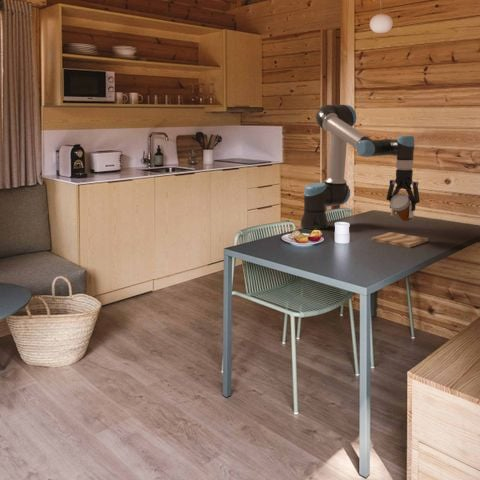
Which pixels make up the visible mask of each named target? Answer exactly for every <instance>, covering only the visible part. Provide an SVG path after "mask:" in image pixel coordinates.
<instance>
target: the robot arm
mask: <svg viewBox="0 0 480 480" xmlns="http://www.w3.org/2000/svg"><path fill="white" fill-rule="evenodd" d="M315 121H316V123H317V125H318V126H319V128H321V129H322V130H324V131H326V132H330V146H329V147H330V148H329V162H328V174H327V176H328V177H327V178H326V179H325V180H324V182H313V183H308V184H306V185H305V187H304V192H303V200H304V201H303V206H304V207H303V214H302V218H301V221H300V227H301V228H303V229H307V230H315V229H314V228H317V229H316V230H325V229H328V228H329V219H328V216H327V213H326V211H327V210H326V209H327V207H334V206H342V205H345V204H346V203H347V202H348V201H349V199H350V196H351V189H350V186H349V185H348V184H347V181H346V179H345V171H346V170H345V169H346V159H347V157H346V156H347V145H348V144H349V145H350V146H351V147H353V148H355V150H356V152H357V154H358V155H359V156H360V157H365V158H366V157H367V158H368V157H369V158H370V157H379V156H380V157H382V156H383V157H385V156H396V167H395V168H396V170H395V179H390V180H389V185H388V186H389V187H388V192H387V194H386V201H388V202H390V201H391V199H392V198H393V197H394V196H395V195H397V194H400V193H399V192H400V191H401V190H402V189H403V190H405V191H406V193H407V196H409V198H410V203H411V204H410V207H409V218H412V217H413V218H414V215H413V214H414V212H415V211H416V205H417V204H419V203H420V202H421V200H420V194H419V192H420V191H419V181H415V180H414V181H413V176H414V174H413V172H414V170H413V168H414V152H415V137H414V136H413V135H398V137H397V139H391V138H382V139H373V138H370V137H369V136H367V135H365V134H364V133H362V132H360V131H359V130H358V129H356V128H355V127H353V126H355V124H356V122H357V113H356V110H355V109H354V107H352V106H351V105H349V104H324V105H323V106H321V107H320V108H319V109H318V110H317V112H316V115H315ZM395 184H396V186H395ZM389 209H390V217H391V216H395V215H396V212H395V211H394V210H393V209H392V208H391V206H390V205H389ZM413 218H412V219H413Z"/></svg>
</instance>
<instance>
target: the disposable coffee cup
mask: <svg viewBox="0 0 480 480" xmlns="http://www.w3.org/2000/svg"><path fill="white" fill-rule="evenodd" d="M410 204H411V201H410V198H409V196H408V194H405V193H398V194H397V195H395V196H394V197H393V198H392V199H391V201H389V207H390V206H391V208H392V209H393V210H394V211H395V214H397V215H398V217H399V218H400V220H401V221H403V222H408V221H410V220H412V219H413V218H414V216H415V215H414V213H413V217H412V218H409V207H410ZM391 208H390V209H391Z"/></svg>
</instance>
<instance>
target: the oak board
mask: <svg viewBox="0 0 480 480" xmlns="http://www.w3.org/2000/svg"><path fill="white" fill-rule="evenodd" d="M370 241H371V242H375V243H380V244H385V245H392V246H397V247H402V248H403V247H404V248H407V249H408V248H412V247H416V246H417V245H420V244H424V243H427V242H428V241H429V238H428V237H423V236H416V235H411V234H405V233H404V234H403V233H397V232H386V233H384V234H381V235H380V234H379V235H377V236H373V237H371V239H370Z"/></svg>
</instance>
